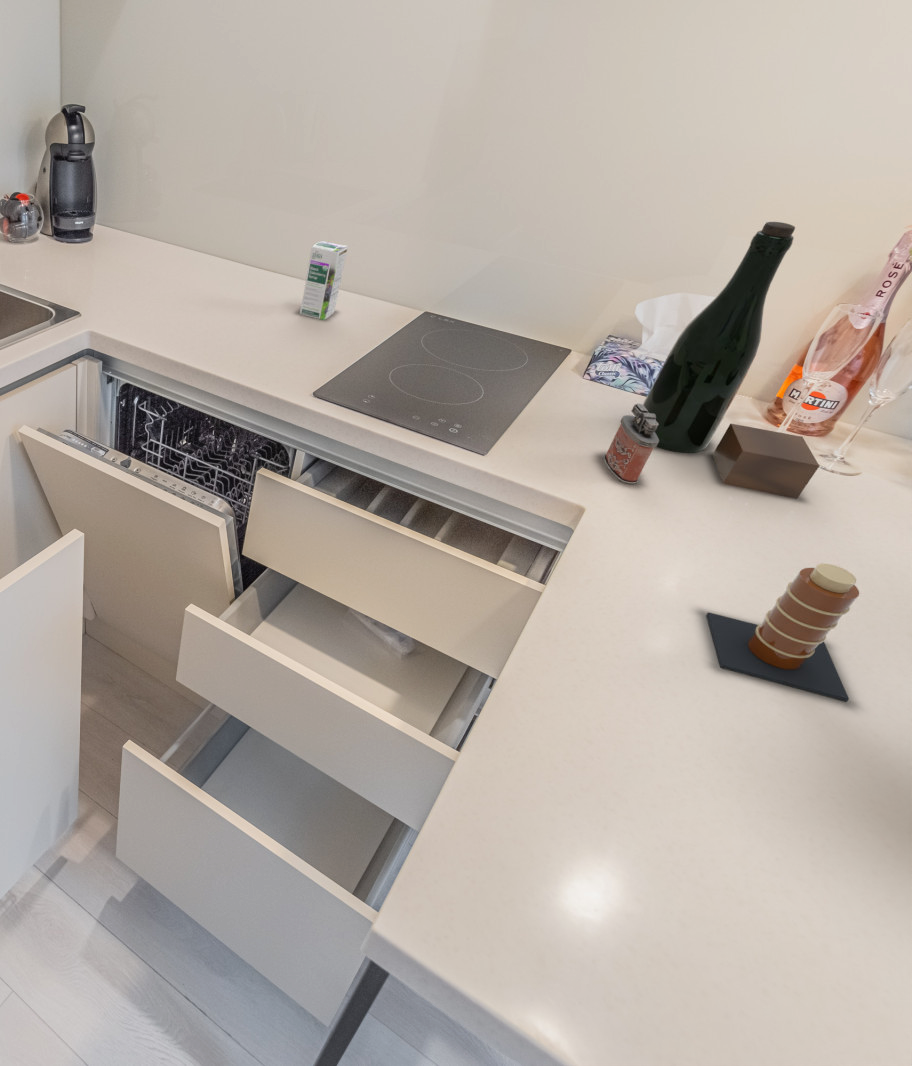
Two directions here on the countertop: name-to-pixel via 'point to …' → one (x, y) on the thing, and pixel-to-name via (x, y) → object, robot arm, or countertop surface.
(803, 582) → the brown ringed jar
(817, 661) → the rubber mat
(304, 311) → the syrup box
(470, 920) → the countertop surface
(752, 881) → the countertop surface
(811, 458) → the shelf
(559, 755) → the countertop surface
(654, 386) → the dark green wine bottle
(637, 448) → the lighter
